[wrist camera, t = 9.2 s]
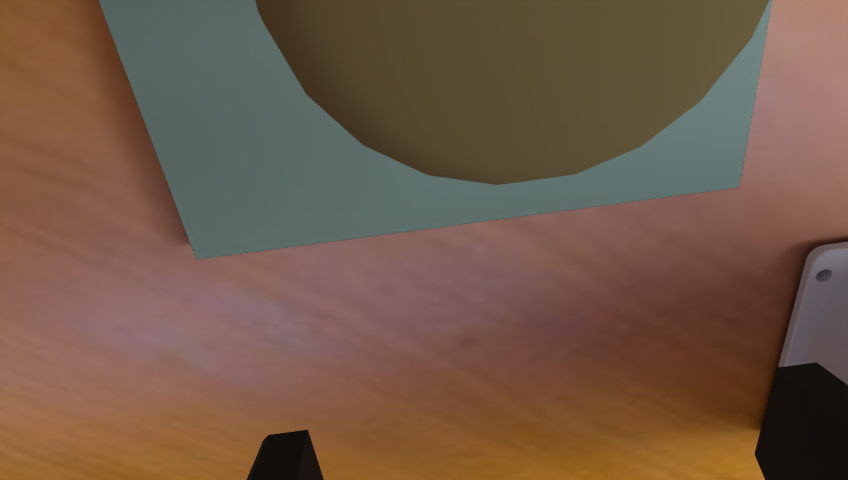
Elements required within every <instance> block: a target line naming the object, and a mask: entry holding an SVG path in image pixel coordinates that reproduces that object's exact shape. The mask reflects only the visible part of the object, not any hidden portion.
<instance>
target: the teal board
mask: <svg viewBox="0 0 848 480" xmlns="http://www.w3.org/2000/svg"><path fill="white" fill-rule="evenodd" d="M99 3H100V6H101V8H102V11H103V14H104V16H105V19H106V22H107V24H108V27H109V29H110V32H111V35H112V37H113V40H114V43H115V45H116V48H117V51H118V53H119V56H120V59H121V61H122V64H123V67H124V69H125V72H126V75H127V77H128V80H129V82H130V85H131V88H132V90H133V93H134V96H135V98H136V101H137V104H138V106H139V109H140V112H141V114H142V117H143V120H144V122H145V125H146V128H147V130H148V133H149V136H150V138H151V141H152V143H153V146H154V149H155V151H156V154H157V157H158V159H159V162H160V165H161V167H162V170H163V173H164V175H165V178H166V181H167V183H168V186H169V189H170V191H171V194H172V196H173V199H174V202H175V204H176V207H177V210H178V212H179V215H180V218H181V220H182V223H183V226H184V228H185V231H186V234H187V236H188V239H189V242H190V244H191V247H192V249H193V252H194V255H195V257H196V260H197V259H205V258H212V257H220V256H227V255H235V254H243V253H250V252H258V251H265V250H273V249H280V248H288V247H295V246H303V245H310V244H318V243H325V242H333V241H340V240H348V239H355V238H363V237H370V236H378V235H385V234H393V233H400V232H408V231H415V230H423V229H430V228H438V227H445V226H453V225H461V224H468V223H476V222H483V221H491V220H498V219H506V218H513V217H521V216H528V215H536V214H543V213H551V212H558V211H566V210H573V209H581V208H588V207H596V206H603V205H611V204H618V203H626V202H633V201H641V200H648V199H656V198H664V197H671V196H679V195H686V194H694V193H701V192H709V191H716V190H724V189H731V188H739V186H740V180H741V175H742V169H743V163H744V158H745V152H746V147H747V141H748V135H749V130H750V124H751V118H752V113H753V107H754V101H755V96H756V90H757V84H758V79H759V73H760V68H761V62H762V56H763V51H764V45H765V39H766V34H767V28H768V22H769V17H770V11H771V6H772V0H769V2H768V4H767V6H766V9H765V11H764V13H763V15H762V17H761V19H760V21H759V24H758V26H757V28H756V30H755V32H754V34H753V36H752V38H751V40H750V41H749V42H748V43H747V44H746V46H745V47H744V48H743V49H742V51H741V52H740V53H739V54H738V56H737V57H736V58H735V59H734V61H733V62H732V63H731V64H730V65H729V67H728V68H727V69H726V70H725V72H724V73H723V74H722V75H721V77H720V78H719V79H718V80H717V82H716V83H715V84H714V85H713V86H712V88H711V89H710V90H709V91H708V93H707V94H706V95H705V96H704V98H703V99H702V100H701V101H700V102H699V103H698V104H696V105H695V106H694V107H692V108H691V109H690V110H688V111H687V112H686V113H684V114H683V115H682V116H680V117H679V118H678V119H676V120H675V121H674V122H672V123H671V124H670V125H668V126H667V127H666V128H665V129H663V130H662V131H661V132H659V133H658V134H657V135H655V136H654V137H653V138H651V139H650V140H649V141H647V142H646V143H645V144H643V145H642V146H641V147H639V148H636V149H634V150H632V151H629V152H627V153H625V154H622V155H620V156H617V157H615V158H613V159H610V160H608V161H606V162H603V163H601V164H599V165H596V166H594V167H591V168H589V169H587V170H584V171H582V172H580V173H577V174H575V175H568V176H561V177H553V178H546V179H539V180H532V181H524V182H517V183H510V184H502V185H493V184H486V183H479V182H472V181H465V180H458V179H450V178H443V177H436V176H429V175H426V174H424V173H422V172H420V171H417V170H415V169H413V168H411V167H409V166H407V165H404V164H402V163H400V162H398V161H396V160H394V159H392V158H389V157H387V156H385V155H383V154H381V153H379V152H376V151H374V150H372V149H370V148H368V147H366V146H363V145H362V144H361V143H360V142H359V141H358V140H356V139H355V138H354V137H353V136H352V135H351V134H350V133H349V132H348V131H346V130H345V129H344V128H343V127H342V126H341V125H340V124H339V123H338V122H336V121H335V120H334V119H333V118H332V117H331V116H330V115H329V114H328V113H326V112H325V111H324V110H323V109H322V108H321V107H320V106H319V105H318V104H316V103H315V102H314V101H313V100H312V99H311V98H310V97H309V96H308V95H306V93H305V91H304V90H303V88H302V86H301V85H300V83H299V81H298V80H297V78H296V76H295V75H294V73H293V71H292V70H291V68H290V66H289V65H288V63H287V61H286V60H285V58H284V56H283V55H282V53H281V51H280V50H279V48H278V46H277V45H276V43H275V41H274V40H273V38H272V36H271V35H270V33H269V31H268V30H267V28H266V26H265V25H264V23H263V21H262V19H261V16H260V14H259V12H258V9H257V5H256V1H255V0H99Z"/></svg>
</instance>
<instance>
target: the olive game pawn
mask: <svg viewBox="0 0 848 480" xmlns="http://www.w3.org/2000/svg"><path fill="white" fill-rule="evenodd" d="M255 1H256V5H257V9H258V12H259V14H260V16H261V19H262V21H263V23H264V25H265V26H266V28H267V30H268V31H269V33H270V35H271V36H272V38H273V40H274V41H275V43H276V45H277V46H278V48H279V50H280V51H281V53H282V55H283V56H284V58H285V60H286V61H287V63H288V65H289V66H290V68H291V70H292V71H293V73H294V75H295V76H296V78H297V80H298V81H299V83H300V85H301V86H302V88H303V90H304V91H305V93H306V95H308V96H309V97H310V98H311V99H312V100H313V101H314V102H315V103H316V104H318V105H319V106H320V107H321V108H322V109H323V110H324V111H325V112H326V113H328V114H329V115H330V116H331V117H332V118H333V119H334V120H335V121H336V122H338V123H339V124H340V125H341V126H342V127H343V128H344V129H345V130H346V131H348V132H349V133H350V134H351V135H352V136H353V137H354V138H355V139H356V140H358V141H359V142H360V143H361V144H362V145H363V146H366V147H368V148H370V149H372V150H374V151H376V152H379V153H381V154H383V155H385V156H387V157H389V158H392V159H394V160H396V161H398V162H400V163H402V164H404V165H407V166H409V167H411V168H413V169H415V170H417V171H420V172H422V173H424V174H426V175H429V176H436V177H443V178H450V179H458V180H465V181H472V182H479V183H486V184H493V185H502V184H510V183H517V182H524V181H532V180H539V179H546V178H553V177H561V176H568V175H575V174H577V173H580V172H582V171H584V170H587V169H589V168H591V167H594V166H596V165H599V164H601V163H603V162H606V161H608V160H610V159H613V158H615V157H617V156H620V155H622V154H625V153H627V152H629V151H632V150H634V149H636V148H639V147H641V146H642V145H643V144H645V143H646V142H647V141H649V140H650V139H651V138H653V137H654V136H655V135H657V134H658V133H659V132H661V131H662V130H663V129H665V128H666V127H667V126H668V125H670V124H671V123H672V122H674V121H675V120H676V119H678V118H679V117H680V116H682V115H683V114H684V113H686V112H687V111H688V110H690V109H691V108H692V107H694V106H695V105H696V104H698V103H699V102H700V101H701V100H702V99H703V98H704V96H705V95H706V94H707V93H708V91H709V90H710V89H711V88H712V86H713V85H714V84H715V83H716V82H717V80H718V79H719V78H720V77H721V75H722V74H723V73H724V72H725V70H726V69H727V68H728V67H729V65H730V64H731V63H732V62H733V61H734V59H735V58H736V57H737V56H738V54H739V53H740V52H741V51H742V49H743V48H744V47H745V46H746V44H747V43H748V42H749V41H750V40H751V38H752V36H753V34H754V32H755V30H756V28H757V26H758V24H759V21H760V19H761V17H762V15H763V13H764V11H765V9H766V6H767V4H768V2H769V0H255Z"/></svg>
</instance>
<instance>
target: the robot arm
mask: <svg viewBox="0 0 848 480" xmlns="http://www.w3.org/2000/svg"><path fill="white" fill-rule="evenodd" d="M822 270H823V271H822ZM820 271H822V272H821V273H820V274H818V273H819V272H820ZM755 456H756V459H757V461H758V464H759V466H760V468H761V471H762V473H763V476H764V478H765V480H848V242H842V243H834V244H827V245H822V246H819V247H817V248H815V249H813V250H812V251H811V252H810V253H809V255H808V257H807V259H806V262H805V266H804V270H803V273H802V277H801V281H800V285H799V289H798V293H797V296H796V300H795V304H794V308H793V312H792V316H791V319H790V323H789V327H788V331H787V335H786V339H785V342H784V346H783V350H782V354H781V358H780V362H779V365H778V368H776V372H775V376H774V380H773V384H772V388H771V392H770V396H769V400H768V404H767V407H766V411H765V415H764V419H763V423H762V427H761V431H760V435H759V439H758V443H757V446H756V450H755ZM247 480H324V479H323V476H322V473H321V470H320V467H319V463H318V460H317V457H316V454H315V451H314V448H313V445H312V442H311V438H310V435H309V432H308V430H303V431H295V432H288V433H280V434H272V435H268V436H267V437H266V438H265V439H264V440H263V442H262V445H261V447H260V449H259V452H258V454H257V457H256V459H255V461H254V464H253V466H252V468H251V471H250V473H249V475H248V478H247Z"/></svg>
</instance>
